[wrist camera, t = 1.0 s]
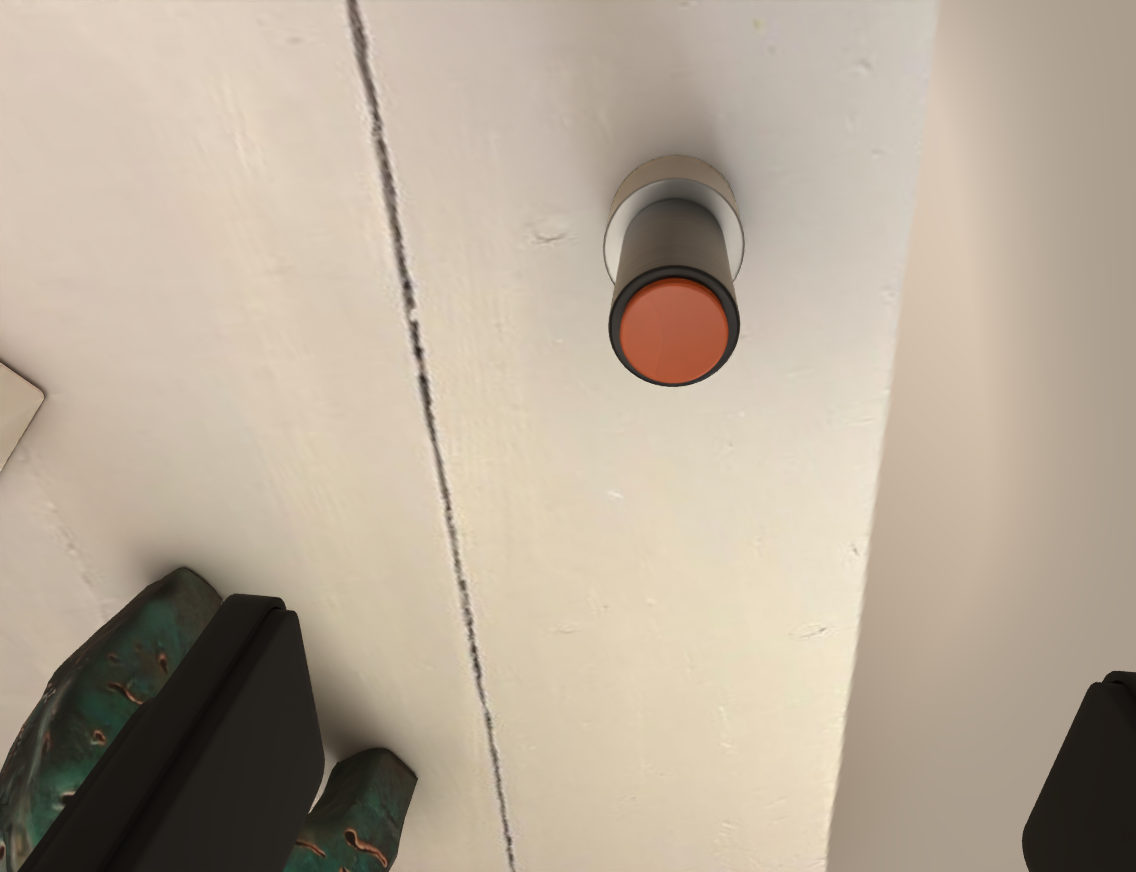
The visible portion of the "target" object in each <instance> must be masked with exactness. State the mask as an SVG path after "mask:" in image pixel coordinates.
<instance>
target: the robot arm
mask: <svg viewBox="0 0 1136 872" xmlns="http://www.w3.org/2000/svg"><path fill="white" fill-rule="evenodd" d="M324 766H325V756H324V750H323V745H322V740H321V734H320V729H319V724H318V719H317V713H316V708H315V703H314V697H313V692H312V687H311V682H310V676H309V671H308V666H307V661H306V655H305V650H304V645H303V640H302V634H301V629H300V624H299V619H298V616H297V613H296V612H295V611H292V610H286V607H285V604H284V601H283V600H282V599H281V598H278V597H269V596H258V595H246V594H233V595H230V596H229V597H228V598H227V599H226V600H225V601H224V602H223V604H222V605H221V607H220V608H219V609H218V611H217V612H216V614H215V615H214V616H213V618H212V619H211V621H210V622H209V623H208V625H207V626H206V628H205V629H204V630H203V632H202V633H201V635H200V636H199V637H198V639H197V640H196V642H195V643H194V644H193V646H192V647H191V649H190V650H189V651H188V653H187V654H186V656H185V657H184V658H183V660H182V661H181V662H180V664H179V665H178V667H177V668H176V669H175V671H174V672H173V674H172V675H171V676H170V678H169V679H168V681H167V682H166V683H165V685H164V686H163V688H162V689H161V690H160V692H159V693H158V695H157V696H156V697H152V698H150V699H149V700H147V701H145V702H144V703H142V704H141V705H140V707H139V708H138V709H137V710H136V711H135V712H134V713H133V714H132V716H131V717H130V718H129V720H128V721H127V722H126V724H125V725H124V726H123V728H122V729H121V731H120V732H119V733H118V735H117V736H116V737H115V739H114V740H113V741H112V743H111V744H110V746H109V747H108V748H107V750H106V751H105V752H104V754H103V755H102V757H101V758H100V759H99V761H98V762H97V763H96V765H95V766H94V767H93V769H92V770H91V772H90V773H89V774H88V776H87V777H86V778H85V780H84V781H83V782H82V784H81V785H80V787H79V788H78V789H77V791H76V792H75V793H74V795H73V796H72V798H71V799H70V800H69V802H68V803H67V804H66V806H65V807H64V808H63V810H62V811H61V813H60V814H59V815H58V817H57V818H56V819H55V821H54V822H53V823H52V825H51V826H50V828H49V829H48V830H47V832H46V833H45V834H44V836H43V837H42V839H41V840H40V841H39V843H38V844H37V845H36V847H35V848H34V849H33V851H32V852H31V854H30V855H29V856H28V858H27V859H26V860H25V862H24V863H23V864H22V866H21V867H20V869H19V870H18V871H17V872H283V871H284V868H285V866H286V864H287V861H288V859H289V857H290V854H291V852H292V850H293V848H294V845H295V843H296V841H297V838H298V836H299V834H300V831H301V829H302V827H303V824H304V822H305V820H306V818H307V815H308V813H309V811H310V808H311V806H312V804H313V801H314V799H315V797H316V794H317V792H318V790H319V787H320V784H321V782H322V778H323V773H324ZM1022 847H1023V854H1024V859H1025V861H1026V865H1027V867H1028V870H1029V872H1136V672H1125V671H1112V672H1111V673H1109V674H1107V675H1106V677H1105V678H1104V680H1103V681H1102V683H1101V682H1095V683H1093V684H1092V685H1091V686H1090V687H1089V689H1088V690H1087V692H1086V695H1085V697H1084V699H1083V701H1082V703H1081V706H1080V708H1079V710H1078V712H1077V714H1076V716H1075V718H1074V721H1073V723H1072V725H1071V728H1070V729H1069V732H1068V734H1067V736H1066V738H1065V740H1064V743H1063V745H1062V747H1061V749H1060V751H1059V753H1058V755H1057V758H1056V760H1055V762H1054V764H1053V767H1052V769H1051V771H1050V773H1049V775H1048V777H1047V779H1046V782H1045V784H1044V786H1043V788H1042V790H1041V793H1040V795H1039V797H1038V799H1037V801H1036V803H1035V806H1034V808H1033V810H1032V812H1031V814H1030V816H1029V819H1028V821H1027V823H1026V825H1025V827H1024V831H1023V837H1022Z"/></svg>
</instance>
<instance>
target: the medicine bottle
mask: <svg viewBox="0 0 1136 872" xmlns="http://www.w3.org/2000/svg"><path fill="white" fill-rule="evenodd" d="M43 399H44V395H43V393H42V391H41V390H39V389H38V388H36V387H35V386H33V385H32V384H30V383H29V382H28V381H26V380H25V379H23V378H22V377H20V376H19V375H17V374H16V373H15V372H13V371H12V370H10V369H9V368H7V367H6V366H4V365H3V364H2V363H0V471H1V469H2V468H3V466H4V464H5V463H6V461H7V459H8V458H9V456H10V454H11V453H12V451H13V449H14V448H15V446H16V444H17V443H18V441H19V439H20V438H21V436H22V434H23V433H24V431H25V429H26V428H27V426H28V424H29V423H30V421H31V419H32V418H33V416H34V414H35V413H36V411H37V409H38V408H39V406H40V404H41V403H42V401H43Z"/></svg>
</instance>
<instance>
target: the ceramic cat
mask: <svg viewBox="0 0 1136 872" xmlns="http://www.w3.org/2000/svg"><path fill="white" fill-rule="evenodd" d="M221 602H222V601H221V599H220V598H219V597H218V596H217V594H216V592H215V590H214V589H213V588H212V587H211V586H209V585H208V584H207V583H206V582H204V581H203V580H202V579H200V578H199V577H198V576H196V575H195V574H193V573H192V572H190V571H189V570H187V569H186V568H182V569H177V570H175V571H173V572H172V573H170V574H169V575H167V576H166V577H164V578H163V579H162V580H160V581H157V582H155V583H153V584H151V585H149V586H147V587H146V588H145V589H144V590H143V591H141V592H140V593H139V594H138V595H137V596H136V597H135V598H134V599H132V600H131V601H130V602H129V603H128V604H127V605H126V606H125V607H124V608H123V609H122V610H121V611H120V612H119V613H117V614H116V615H115V616H114V617H113V618H112V619H111V620H109V621H108V622H107V623H106V624H105V625H103V626H102V627H101V628H100V629H99V630H98V631H97V632H95V633H94V634H93V635H92V636H91V637H90V638H89V639H88V640H87V641H86V642H85V643H84V644H83V645H82V646H81V647H80V648H78V649H77V650H76V651H75V652H74V653H73V654H72V655H71V656H70V657H69V658H68V659H67V660H66V661H64V663H63V664H62V665H61V666H60V667H59V668H58V669H57V670H56V671H55V672H54V674H53V676H52V678H51V679H50V681H49V682H48V684H47V687H46V689H45V691H44V694H43V696H42V698H41V699H40V701H39V702H38V704H37V705H36V707H35V708H34V710H33V711H32V713H31V714H30V716H29V717H28V719H27V720H26V721H25V723H24V724H23V726H22V728H21V730H20V732H19V734H18V736H17V737H16V739H15V741H14V743H13V745H12V747H11V748H10V751H9V753H8V755H7V758H6V760H5V763H4V765H3V767H2V770H1V772H0V872H17V871H18V870H19V869H20V867H21V866H22V864H23V863H24V862H25V860H26V859H27V858H28V856H29V855H30V854H31V852H32V851H33V849H34V848H35V847H36V845H37V844H38V843H39V841H40V840H41V839H42V837H43V836H44V834H45V833H46V832H47V830H48V829H49V828H50V826H51V825H52V823H53V822H54V821H55V819H56V818H57V817H58V815H59V814H60V813H61V811H62V810H63V808H64V807H65V806H66V804H67V803H68V802H69V800H70V799H71V798H72V796H73V795H74V793H75V792H76V791H77V789H78V788H79V787H80V785H81V784H82V782H83V781H84V780H85V778H86V777H87V776H88V774H89V773H90V772H91V770H92V769H93V767H94V766H95V765H96V763H97V762H98V761H99V759H100V758H101V757H102V755H103V754H104V752H105V751H106V750H107V748H108V747H109V746H110V744H111V743H112V741H113V740H114V739H115V737H116V736H117V735H118V733H119V732H120V731H121V729H122V728H123V726H124V725H125V724H126V722H127V721H128V720H129V718H130V717H131V716H132V714H133V713H134V712H135V711H136V710H137V709H138V708H139V707H140V705H141V704H142V703H144V702H145V701H147V700H149V699H150V698H152V697H156V696H157V695H158V693H159V692H160V690H161V689H162V688H163V686H164V685H165V683H166V682H167V681H168V679H169V678H170V676H171V675H172V674H173V672H174V671H175V669H176V668H177V667H178V665H179V664H180V662H181V661H182V660H183V658H184V657H185V656H186V654H187V653H188V651H189V650H190V649H191V647H192V646H193V644H194V643H195V642H196V640H197V639H198V637H199V636H200V635H201V633H202V632H203V630H204V629H205V628H206V626H207V625H208V623H209V622H210V621H211V619H212V618H213V616H214V615H215V614H216V612H217V611H218V609H219V607H220V605H221ZM417 780H418V778H417V777H416V776H415V775H414V774H413V773H412V772H411V771H410V770H409V769H408V768H407V767H406V766H405V765H404V764H403V763H402V762H401V761H400V760H399V759H398V758H397V757H395V756H394V755H393V754H392V753H391V752H390V751H388V750H385V749H373V750H369V751H364V752H362V753H359V754H357V755H356V756H354V757H352V758H350V759H348V760H346V761H343V762H337V764H336V765H335V767H334V768H333V769H332V772H331V774H330V776H329V779H328V782H327V785H326V788H325V790H324V793H323V795H322V796H321V797H320V799H319V800H318V802H317V803H316V805H315V806H314V808H313V810H312V811H311V812H310V813H309V814H308V815H307V818H306V820H305V822H304V824H303V827H302V829H301V831H300V834H299V836H298V838H297V841H296V843H295V845H294V848H293V850H292V852H291V854H290V857H289V859H288V861H287V864H286V866H285V868H284V871H283V872H389V870H390V868H391V867H392V865H393V863H394V861H395V859H396V857H397V854H398V848H399V842H400V837H401V833H402V828H403V824H404V820H405V816H406V813H407V810H408V807H409V804H410V802H411V798H412V795H413V792H414V789H415V786H416V783H417Z"/></svg>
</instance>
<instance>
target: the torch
mask: <svg viewBox="0 0 1136 872" xmlns="http://www.w3.org/2000/svg"><path fill="white" fill-rule="evenodd" d="M744 248H745V240H744V232H743V227H742V223H741V220H740V216H739V213H738V209H737V205H736V202H735V198H734V195H733V193H732V190H731V189H730V187H729V185H728V183H727V182H726V180H725V179H724V178H723V176H722V175H721V174H720V173H719V172H718V171H717V170H715V169H714V168H713V167H711V166H710V165H708V164H706V163H705V162H703V161H700V160H698V159H695V158H691V157H687V156H679V155H677V156H665V157H660V158H657V159H653V160H651V161H649V162H647V163H645V164H643V165H641V166H640V167H638V168H637V169H636V170H634V171H633V172H632V173H631V174H630V175H629V176H628V177H627V178H626V179H625V180H624V182H623V183H622V184H621V186H620V187H619V189H618V191H617V193H616V195H615V198H614V200H613V204H612V208H611V212H610V216H609V220H608V223H607V227H606V232H605V236H604V243H603V255H604V261H605V266H606V269H607V272H608V274H609V277H610V279H611V281H612V282H613V284H614V285H615V287H614V293H613V299H612V304H611V310H610V315H609V323H608V329H609V338H610V342H611V345H612V348H613V350H614V352H615V354H616V356H617V357H618V359H619V361H620V362H621V363H622V364H623V365H624V366H625V368H627V369H628V370H629V371H630V372H631V373H632V374H634V375H635V376H637V377H638V378H640V379H642V380H644V381H646V382H649V383H652V384H655V385H659V386H667V387H679V386H686V385H691V384H694V383H697V382H700V381H702V380H704V379H706V378H708V377H709V376H711V375H713V374H714V373H715V372H717V371H718V370H719V369H720V368H721V367H722V366H723V365H724V364H725V363H726V362H727V361H728V359H729V358H730V356H731V355H732V353H733V351H734V349H735V347H736V344H737V341H738V338H739V333H740V316H739V311H738V305H737V300H736V295H735V290H734V285H733V282H734V280H735V279H736V277H737V275H738V273H739V271H740V268H741V265H742V262H743V256H744Z"/></svg>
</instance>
